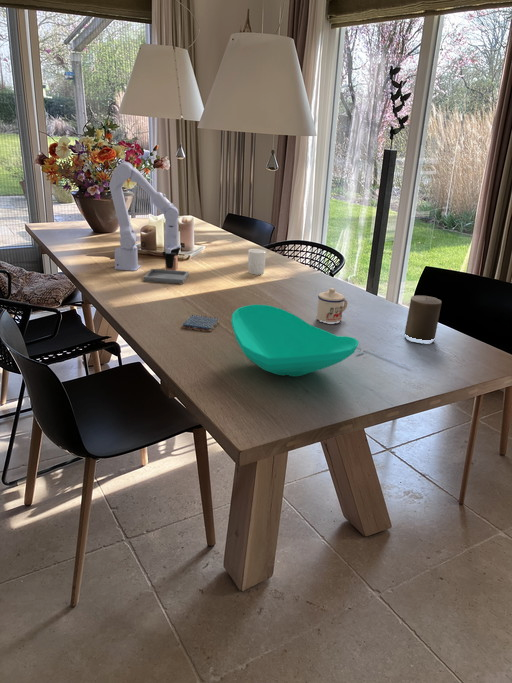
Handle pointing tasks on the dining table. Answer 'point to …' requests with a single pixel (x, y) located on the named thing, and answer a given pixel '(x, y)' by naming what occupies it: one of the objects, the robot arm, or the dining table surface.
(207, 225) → the dining table surface
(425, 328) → the pillar candle
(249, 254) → the white cup
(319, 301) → the teacup with lid
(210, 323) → the woven mat
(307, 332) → the table top decor
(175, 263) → the tan block
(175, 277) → the grey tray
